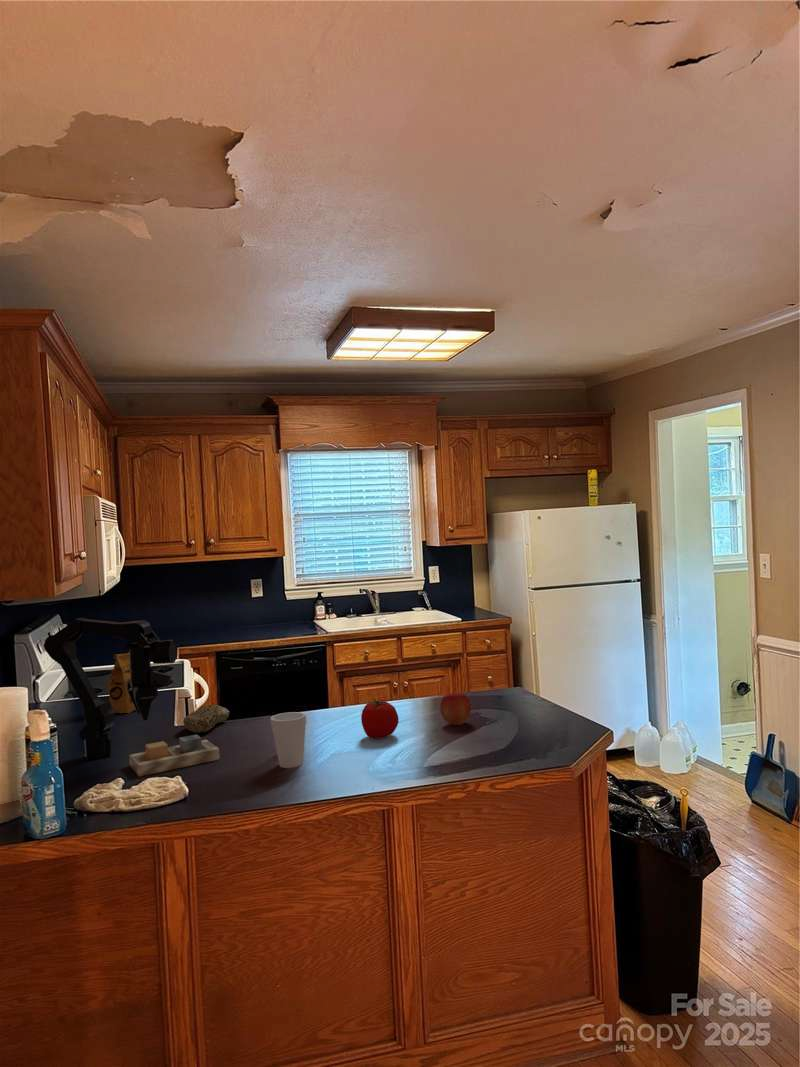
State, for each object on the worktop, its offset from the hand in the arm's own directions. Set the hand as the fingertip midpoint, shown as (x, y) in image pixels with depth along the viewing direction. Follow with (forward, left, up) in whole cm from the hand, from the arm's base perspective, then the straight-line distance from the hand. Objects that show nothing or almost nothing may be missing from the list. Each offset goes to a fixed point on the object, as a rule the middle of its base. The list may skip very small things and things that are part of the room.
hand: (142, 716), depth 224 cm
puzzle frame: (+5, -14, -11) cm, 19 cm away
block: (0, -14, -11) cm, 18 cm away
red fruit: (+61, -33, -12) cm, 70 cm away
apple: (+86, -37, -12) cm, 94 cm away
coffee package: (+8, +68, -12) cm, 69 cm away
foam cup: (+30, -39, -12) cm, 51 cm away
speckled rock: (+23, +18, -12) cm, 32 cm away
